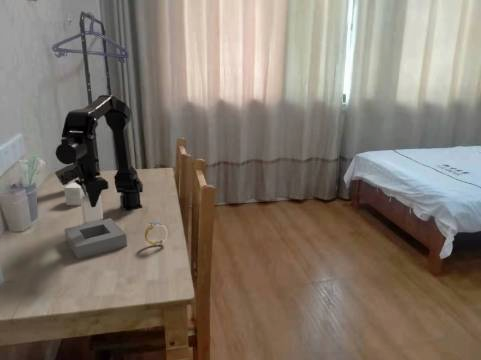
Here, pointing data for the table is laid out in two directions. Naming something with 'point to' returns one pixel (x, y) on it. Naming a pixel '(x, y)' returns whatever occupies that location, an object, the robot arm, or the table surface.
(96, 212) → the eye dropper bottle
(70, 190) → the product box
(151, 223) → the bracelet
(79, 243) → the holder block
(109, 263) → the table surface
